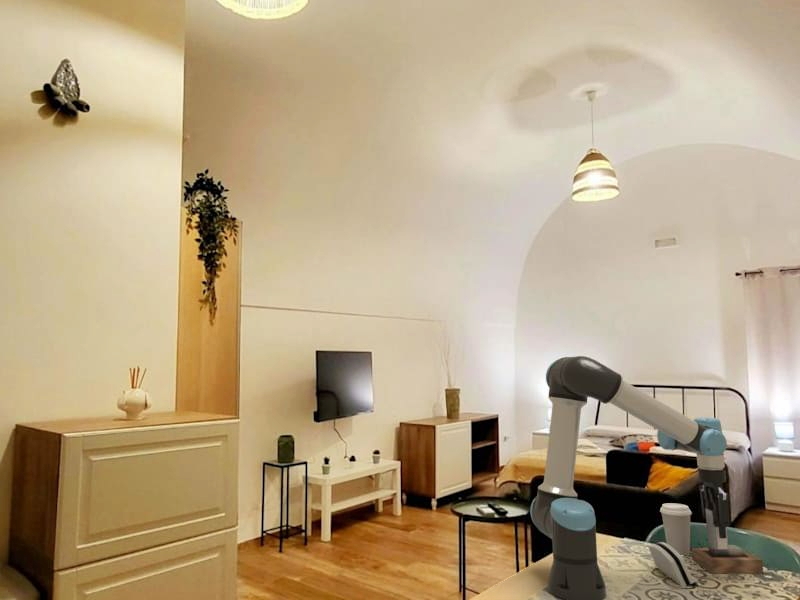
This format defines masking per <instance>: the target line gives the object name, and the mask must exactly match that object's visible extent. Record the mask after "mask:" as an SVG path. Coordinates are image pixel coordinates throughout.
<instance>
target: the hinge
mask: <svg viewBox="0 0 800 600" xmlns="http://www.w3.org/2000/svg"><path fill="white" fill-rule="evenodd" d="M648 549H649V551H650V554H651V558H652V560H653V562H654V565H655V567H656V566H657V567H658V568H659V569H660V570H659V569H658V568H657V567H656V568H657V569H658V570H659V571H661V570H662V571H663V572H664V573H663V572H662V571H661V572H662V573H663V574H665V575H666V574H667V575H668V576H667V575H666V576H667V577H669V578H670V579H671V578H672V579H671V580H673V581H674V582H675V581H676V583H677V584H678V585H679V584H680V586H681V587H682V586H684V587H687V584H691V585H692V584H694V583H695V584H694V585H696V586H697V585H698V586H697V587H701V585H700V583H699V581H698V579H697V578H696V577H694V576H693V575H692V574H691V573H690V570H689V568H688V566H687V564H686V561H685V560H684V557H683V556H681V555H680V554H679V553H678V552H677V551H676V550H675V549H674V548H672V547H671V546H670V545H668V544H667V543H666V542H664V541H661V542H656V543H655V544H654V543H653V544H651V545H650V546H649V547H648Z"/></svg>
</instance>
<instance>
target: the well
mask: <svg viewBox="0 0 800 600" xmlns="http://www.w3.org/2000/svg"><path fill="white" fill-rule="evenodd" d="M690 554H691V561H692V560H693V561H694V562H693V561H692V562H693V563H695V562H696V563H697V564H696V563H695V564H696V565H698V564H699V565H700V566H699V565H698V566H699V567H701V566H702V567H704V568H705V569H707V570H708V571H709V572H708V571H707V570H706V571H707V572H708V573H710V572H711V573H715V575H717V574H718V575H720V574H721V575H725V574H729V575H730V574H733V575H734V574H735V575H736V574H737V575H738V574H739V575H741V574H743V575H745V574H746V575H747V574H748V575H749V574H757V575H758V574H762V575H763V574H764V565H763V559H761V558H759V557H757V556H755V555H754V554H751V553H749V552H748V551H746V550H744V549H742V554H743V557H711V556H710V555H709V547H690ZM702 567H701V568H702ZM704 568H703V569H704ZM705 569H704V570H705ZM711 573H710V574H711Z"/></svg>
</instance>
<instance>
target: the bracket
mask: <svg viewBox="0 0 800 600" xmlns="http://www.w3.org/2000/svg"><path fill="white" fill-rule="evenodd" d="M705 511H706V518H705V521H706V531H707V544H708V548H709V555H710V556H711V557H743V554H742V550H743V548H742V547H740V546H737V545H736V544H729V541H728V540H729V539H728V538H729V537H728V529H727V528H728V526H727V527H726V537H727V549H717V541H716V529H715V526H714V525H717V523H716V518H715V512H714V508H705Z"/></svg>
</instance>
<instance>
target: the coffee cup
mask: <svg viewBox="0 0 800 600" xmlns="http://www.w3.org/2000/svg"><path fill="white" fill-rule="evenodd" d="M661 505H662V506H661V507H660V510H659V512H660V513H661V516H662V522H663V523H662V524H663V528H664V535H665V541H666V542H665V543H667V544H668V545H670V546H671V547H672V548H674V549H675V550H676V551H677V552H678V553H679V554H680V555H688V554H691V515H692V514H693V512H692V511H691V509H690V508H689V506H688V505H686V504H682V503H673V502H670V503H669V502H668V503H663V504H661ZM688 556H689V555H688Z"/></svg>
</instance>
